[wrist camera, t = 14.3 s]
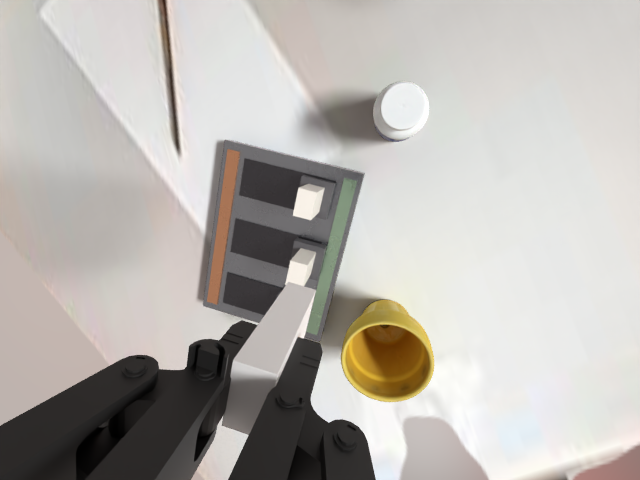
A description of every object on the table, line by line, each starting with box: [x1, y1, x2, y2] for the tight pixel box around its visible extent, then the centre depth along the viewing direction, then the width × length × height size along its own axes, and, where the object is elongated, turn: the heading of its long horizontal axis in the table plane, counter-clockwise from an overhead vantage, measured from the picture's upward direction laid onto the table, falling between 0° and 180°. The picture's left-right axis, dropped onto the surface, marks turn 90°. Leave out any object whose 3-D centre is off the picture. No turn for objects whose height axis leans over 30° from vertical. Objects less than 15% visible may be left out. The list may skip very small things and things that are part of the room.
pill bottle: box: [373, 81, 429, 142], centre depth 33 cm, size 5×5×10 cm
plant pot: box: [341, 300, 434, 402], centre depth 40 cm, size 10×10×10 cm
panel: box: [203, 140, 365, 342], centre depth 43 cm, size 24×18×2 cm
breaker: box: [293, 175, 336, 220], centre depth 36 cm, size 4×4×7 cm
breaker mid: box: [285, 238, 327, 286], centre depth 38 cm, size 4×4×7 cm
